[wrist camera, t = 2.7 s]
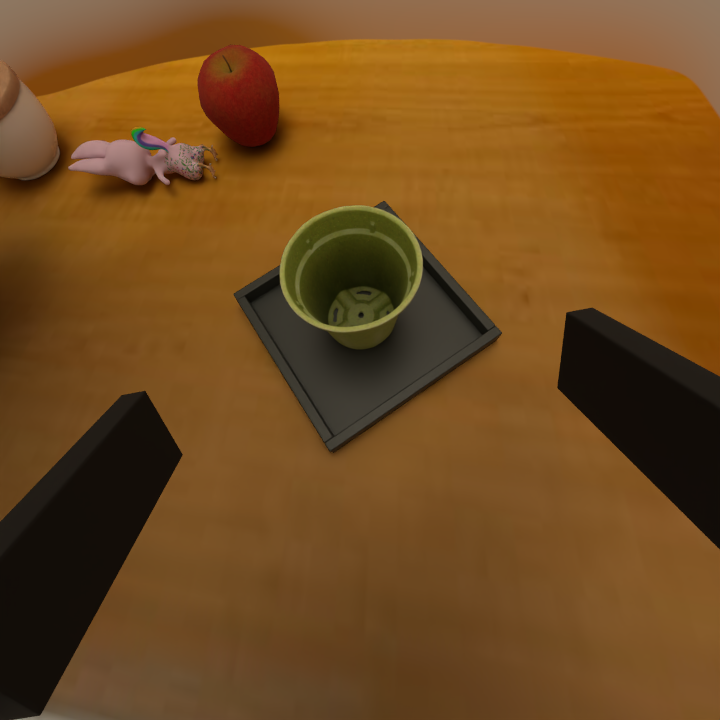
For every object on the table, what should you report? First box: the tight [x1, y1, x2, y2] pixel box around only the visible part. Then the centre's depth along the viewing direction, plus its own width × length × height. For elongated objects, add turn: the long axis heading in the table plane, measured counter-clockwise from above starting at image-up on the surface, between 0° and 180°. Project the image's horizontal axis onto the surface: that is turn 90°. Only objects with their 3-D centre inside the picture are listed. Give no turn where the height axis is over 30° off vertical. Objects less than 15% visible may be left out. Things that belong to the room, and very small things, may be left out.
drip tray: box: [234, 201, 502, 453], centre depth 30 cm, size 17×17×2 cm
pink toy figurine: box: [69, 127, 218, 185], centre depth 36 cm, size 6×6×15 cm
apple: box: [198, 45, 279, 147], centre depth 35 cm, size 8×8×8 cm
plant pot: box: [280, 206, 423, 349], centre depth 27 cm, size 9×9×9 cm
